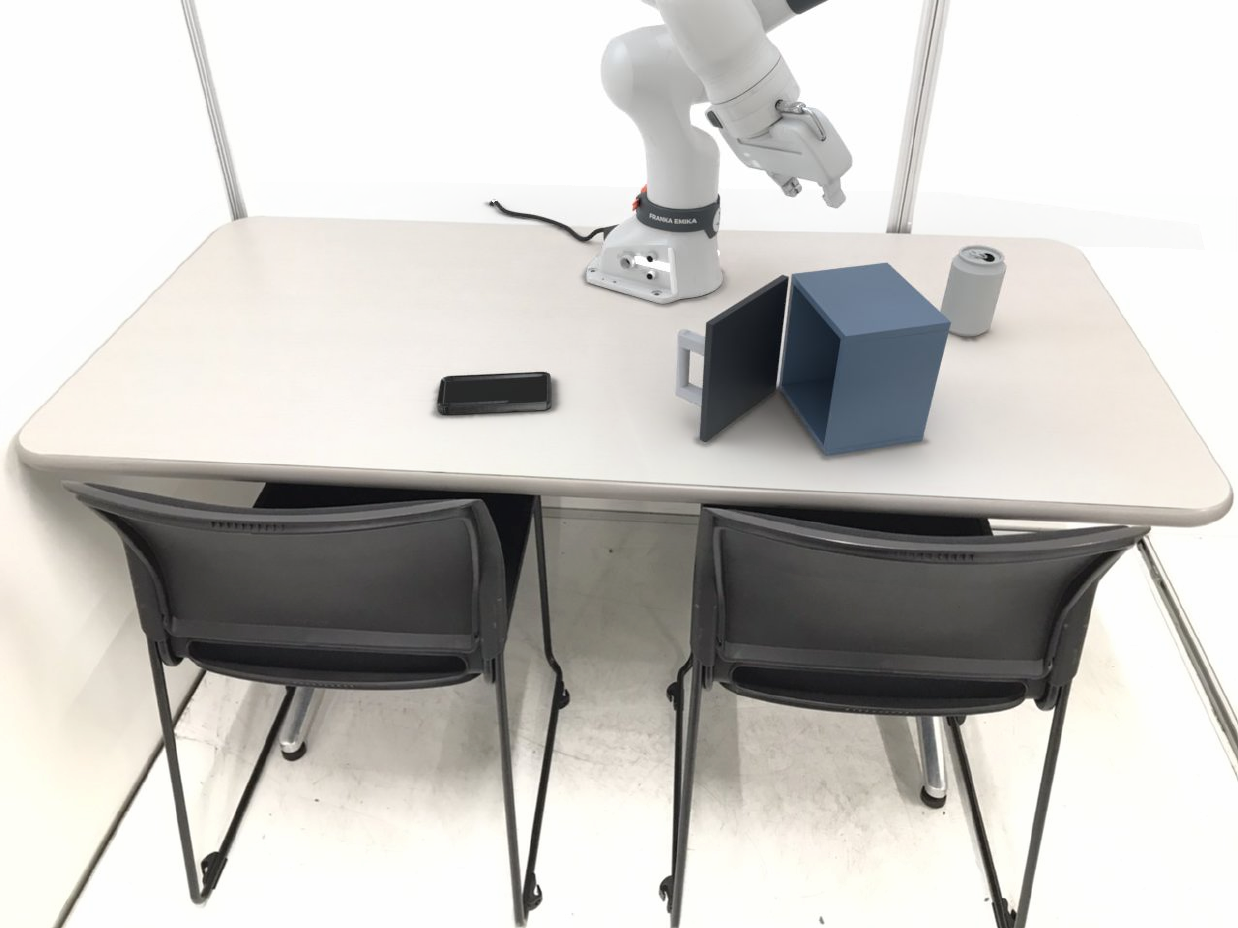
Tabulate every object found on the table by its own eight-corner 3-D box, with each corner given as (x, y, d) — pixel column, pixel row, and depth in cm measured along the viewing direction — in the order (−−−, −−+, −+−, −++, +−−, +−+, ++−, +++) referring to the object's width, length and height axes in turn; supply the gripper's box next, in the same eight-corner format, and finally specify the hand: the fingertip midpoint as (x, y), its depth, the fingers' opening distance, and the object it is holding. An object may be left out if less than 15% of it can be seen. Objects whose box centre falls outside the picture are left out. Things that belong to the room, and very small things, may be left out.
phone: (441, 376, 125) (550, 371, 126) (442, 383, 126) (551, 377, 126) (436, 408, 119) (550, 402, 119) (437, 415, 119) (551, 410, 120)
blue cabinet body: (825, 456, 112) (845, 336, 101) (778, 387, 124) (791, 273, 114) (922, 441, 114) (951, 322, 104) (866, 375, 126) (887, 262, 116)
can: (992, 341, 133) (1013, 266, 126) (939, 337, 134) (956, 262, 127) (986, 317, 139) (1006, 243, 132) (935, 312, 140) (952, 239, 133)
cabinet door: (666, 423, 118) (669, 308, 107) (738, 372, 127) (747, 262, 117) (705, 442, 114) (712, 325, 104) (776, 388, 124) (789, 276, 113)
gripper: (831, 83, 91) (888, 191, 98) (736, 79, 109) (791, 171, 116) (784, 125, 91) (845, 230, 98) (697, 114, 109) (755, 204, 116)
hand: (815, 198), depth 107 cm, fingers open, 8 cm apart
